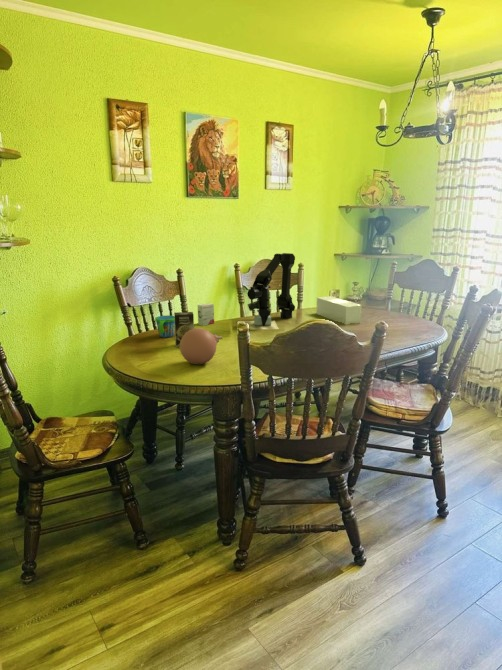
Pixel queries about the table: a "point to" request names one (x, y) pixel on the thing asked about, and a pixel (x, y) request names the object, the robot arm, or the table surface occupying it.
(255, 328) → the maple board
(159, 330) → the snack cup
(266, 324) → the block
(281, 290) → the robot arm
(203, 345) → the balloon
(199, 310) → the ink box
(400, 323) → the table surface
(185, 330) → the coffee box
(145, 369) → the table surface
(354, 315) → the stack of papers
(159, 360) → the table surface
